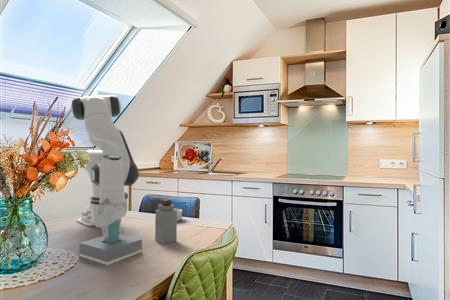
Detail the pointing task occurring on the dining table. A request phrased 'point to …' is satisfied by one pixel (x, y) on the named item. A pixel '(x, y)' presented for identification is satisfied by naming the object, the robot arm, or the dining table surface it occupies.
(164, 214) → the perfume bottle
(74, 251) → the dining table surface
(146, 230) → the dining table surface
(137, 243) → the socket block
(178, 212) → the saucepan
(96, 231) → the dining table surface
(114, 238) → the peg
